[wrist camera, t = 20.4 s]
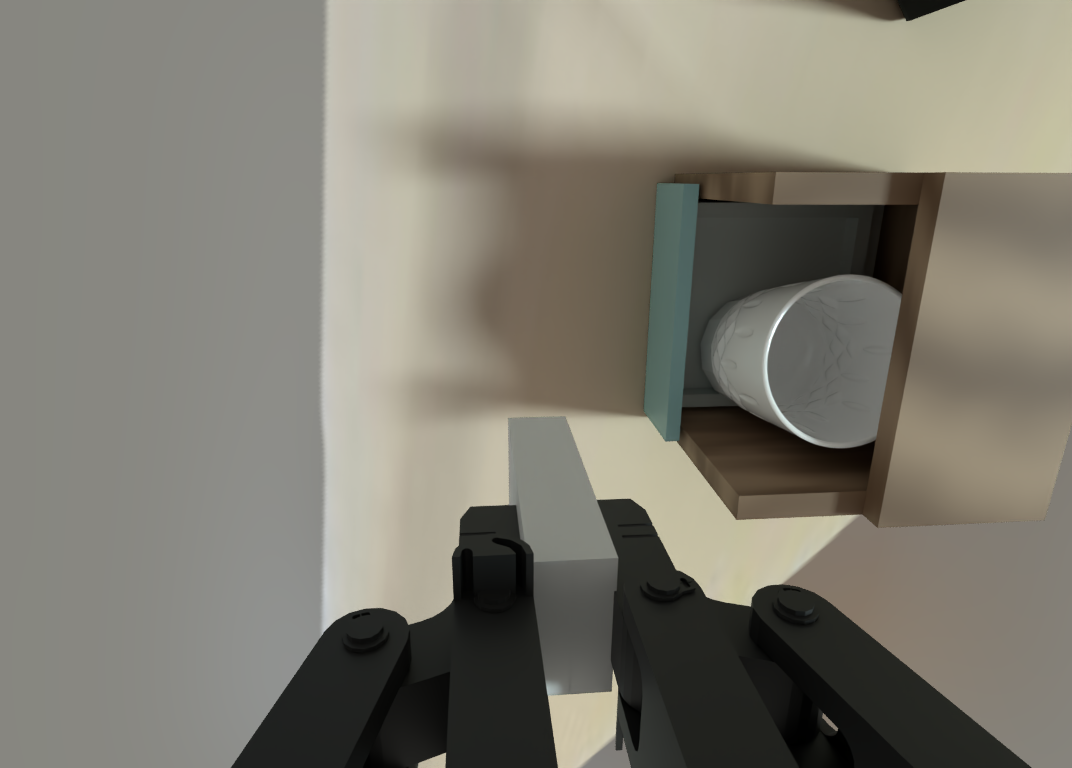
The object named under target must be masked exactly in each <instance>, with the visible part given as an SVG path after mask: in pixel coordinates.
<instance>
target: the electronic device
mask: <svg viewBox="0 0 1072 768" xmlns="http://www.w3.org/2000/svg"><path fill="white" fill-rule="evenodd" d="M897 1H898V3H899V5H900V8H901V10H902V12H903V14H904V17H905V19H906V21H910V20H913V19H916V18H918V17H921V16H924V15H927V14H929V13H932V12H935V11H938V10H940V9H943V8H946V7H949V6H951V5H954V4H957V3H959V2H962V1H965V0H897Z"/></svg>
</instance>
